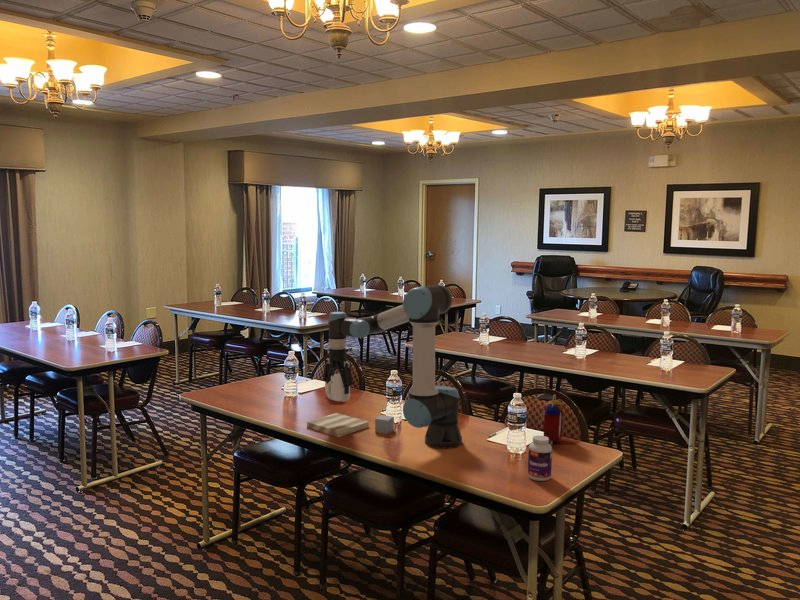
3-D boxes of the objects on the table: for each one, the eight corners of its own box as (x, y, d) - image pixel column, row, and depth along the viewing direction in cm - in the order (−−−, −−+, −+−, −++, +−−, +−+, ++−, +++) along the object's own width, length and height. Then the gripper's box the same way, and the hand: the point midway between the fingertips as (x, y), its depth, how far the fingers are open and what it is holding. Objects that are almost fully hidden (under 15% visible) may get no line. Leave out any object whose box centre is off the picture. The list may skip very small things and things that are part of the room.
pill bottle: (525, 480, 220) (526, 440, 218) (529, 472, 228) (530, 433, 226) (549, 483, 217) (550, 442, 216) (552, 475, 225) (554, 435, 223)
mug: (331, 404, 269) (331, 380, 268) (320, 400, 275) (320, 377, 274) (354, 398, 277) (353, 375, 276) (342, 395, 283) (342, 372, 282)
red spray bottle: (558, 448, 252) (560, 399, 250) (536, 445, 255) (538, 397, 253) (562, 437, 266) (564, 390, 264) (541, 434, 269) (543, 388, 267)
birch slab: (368, 428, 278) (368, 421, 278) (339, 438, 264) (339, 431, 264) (336, 419, 291) (336, 412, 291) (306, 428, 277) (306, 421, 277)
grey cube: (393, 430, 274) (393, 416, 273) (387, 434, 269) (387, 420, 268) (381, 428, 277) (381, 415, 276) (375, 432, 271) (375, 418, 270)
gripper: (361, 349, 270) (361, 401, 272) (326, 343, 283) (326, 393, 285) (349, 352, 264) (349, 405, 267) (314, 346, 277) (314, 396, 280)
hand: (337, 399), depth 276 cm, fingers closed on mug, 8 cm apart
